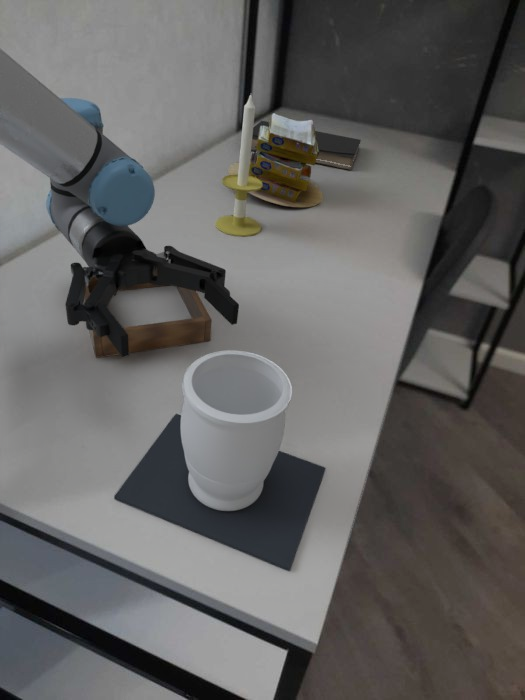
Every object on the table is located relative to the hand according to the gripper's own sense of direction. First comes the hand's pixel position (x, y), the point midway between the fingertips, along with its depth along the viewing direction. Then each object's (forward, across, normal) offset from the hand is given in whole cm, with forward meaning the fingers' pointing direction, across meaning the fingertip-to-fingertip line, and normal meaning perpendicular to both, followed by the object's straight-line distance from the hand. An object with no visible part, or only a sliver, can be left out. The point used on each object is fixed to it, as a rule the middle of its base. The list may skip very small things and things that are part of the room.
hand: (183, 329), depth 57 cm
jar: (+11, 0, -14) cm, 18 cm away
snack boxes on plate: (-61, -59, -14) cm, 86 cm away
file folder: (-86, -88, -14) cm, 124 cm away
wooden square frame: (-24, -6, -14) cm, 28 cm away
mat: (+11, 0, -14) cm, 18 cm away
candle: (-46, -38, -14) cm, 61 cm away
